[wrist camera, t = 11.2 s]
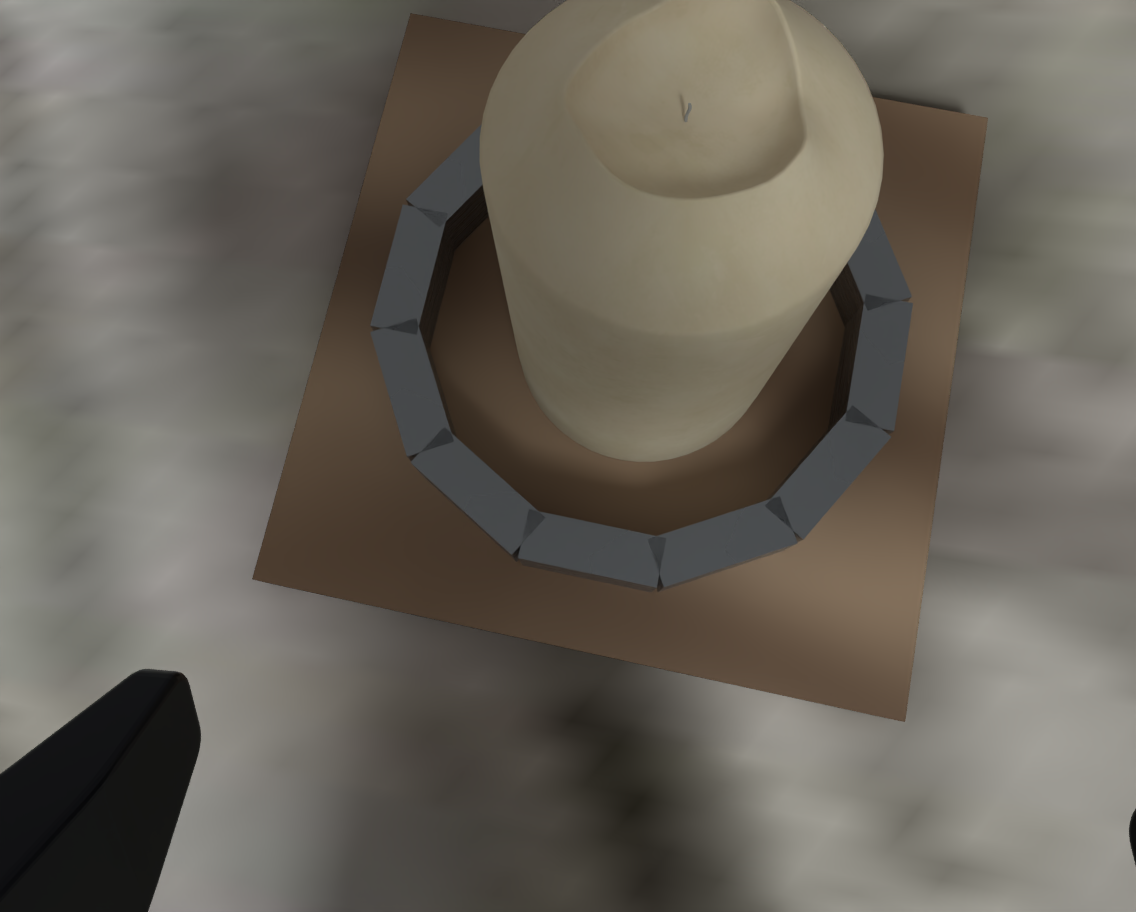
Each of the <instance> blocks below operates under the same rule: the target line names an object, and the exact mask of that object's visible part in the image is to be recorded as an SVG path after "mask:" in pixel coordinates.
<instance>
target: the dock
mask: <svg viewBox="0 0 1136 912" xmlns="http://www.w3.org/2000/svg"><path fill="white" fill-rule="evenodd" d="M525 35H526V34H522V33H517V32H511V31H506V30H500V29H495V28H489V27H483V26H478V25H472V24H467V23H461V22H456V21H450V20H445V19H439V18H434V17H428V16H423V15H417V14H412V13H411V14H410V18H409V21H408V25H407V28H406V32H405V35H404V39H403V43H402V46H401V50H400V53H399V57H398V60H397V64H396V68H395V71H394V75H393V78H392V82H391V85H390V89H389V93H388V96H387V100H386V103H385V107H384V110H383V114H382V117H381V121H380V125H379V128H378V132H377V135H376V139H375V142H374V146H373V150H372V153H371V157H370V160H369V164H368V167H367V171H366V175H365V178H364V182H363V185H362V189H361V192H360V196H359V200H358V203H357V207H356V210H355V214H354V217H353V221H352V225H351V228H350V232H349V235H348V239H347V242H346V246H345V250H344V253H343V257H342V260H341V264H340V267H339V271H338V275H337V278H336V282H335V285H334V289H333V292H332V296H331V300H330V303H329V307H328V310H327V314H326V317H325V321H324V325H323V328H322V332H321V335H320V339H319V342H318V346H317V350H316V353H315V357H314V360H313V364H312V367H311V371H310V375H309V378H308V382H307V385H306V389H305V392H304V396H303V400H302V403H301V407H300V410H299V414H298V417H297V421H296V425H295V428H294V432H293V435H292V439H291V442H290V446H289V450H288V453H287V457H286V460H285V464H284V467H283V471H282V475H281V478H280V482H279V485H278V489H277V492H276V496H275V500H274V503H273V507H272V510H271V514H270V517H269V521H268V525H267V528H266V532H265V535H264V539H263V542H262V546H261V550H260V553H259V557H258V560H257V564H256V567H255V571H254V575H253V578H252V579H253V580H258V581H262V582H266V583H271V584H275V585H280V586H285V587H289V588H294V589H298V590H303V591H308V592H312V593H317V594H321V595H326V596H330V597H335V598H340V599H344V600H349V601H353V602H358V603H362V604H367V605H372V606H376V607H381V608H385V609H390V610H394V611H399V612H404V613H408V614H413V615H417V616H422V617H427V618H431V619H436V620H440V621H445V622H449V623H454V624H459V625H463V626H468V627H472V628H477V629H481V630H486V631H491V632H495V633H500V634H504V635H509V636H513V637H518V638H523V639H527V640H532V641H536V642H541V643H545V644H550V645H555V646H559V647H564V648H568V649H573V650H578V651H582V652H587V653H591V654H596V655H600V656H605V657H610V658H614V659H619V660H623V661H628V662H632V663H637V664H642V665H646V666H651V667H655V668H660V669H664V670H669V671H674V672H678V673H683V674H687V675H692V676H697V677H701V678H706V679H710V680H715V681H719V682H724V683H729V684H733V685H738V686H742V687H747V688H751V689H756V690H761V691H765V692H770V693H774V694H779V695H783V696H788V697H793V698H797V699H802V700H806V701H811V702H815V703H820V704H825V705H829V706H834V707H838V708H843V709H848V710H852V711H857V712H861V713H866V714H870V715H875V716H880V717H884V718H889V719H894V720H898V721H903V722H905V718H906V711H907V704H908V696H909V689H910V682H911V675H912V667H913V660H914V653H915V645H916V638H917V631H918V624H919V616H920V609H921V602H922V595H923V587H924V580H925V573H926V565H927V558H928V551H929V544H930V536H931V529H932V522H933V514H934V507H935V500H936V493H937V485H938V478H939V471H940V463H941V456H942V449H943V442H944V434H945V427H946V420H947V413H948V405H949V398H950V391H951V383H952V376H953V369H954V362H955V354H956V347H957V340H958V332H959V325H960V318H961V311H962V303H963V296H964V289H965V282H966V274H967V267H968V260H969V252H970V245H971V238H972V231H973V223H974V216H975V209H976V201H977V194H978V187H979V180H980V172H981V165H982V158H983V150H984V143H985V136H986V129H987V121H988V118H986V117H981V116H975V115H970V114H964V113H958V112H953V111H947V110H942V109H936V108H931V107H925V106H920V105H914V104H909V103H903V102H898V101H892V100H887V99H881V98H876V97H873V100H874V102H875V105H876V108H877V113H878V117H879V121H880V125H881V130H882V141H883V152H884V157H883V176H882V182H881V187H880V192H879V197H878V202H877V205H876V208H875V210H874V213H873V216H872V219H871V221H870V224H869V226H868V228H867V230H866V232H865V234H864V236H863V238H862V240H861V241H860V243H859V245H858V247H857V249H856V250H855V252H854V253H853V255H852V256H851V258H850V259H849V261H848V262H847V264H846V265H845V267H844V268H843V270H842V271H841V273H840V274H839V276H838V277H837V279H836V280H835V282H834V283H833V285H832V286H831V288H830V289H829V290H828V292H827V293H826V295H825V296H824V298H823V299H822V301H821V302H820V304H819V305H818V307H817V308H816V310H815V311H814V313H813V314H812V316H811V317H810V319H809V320H808V322H807V323H806V325H805V326H804V328H803V329H802V331H801V332H800V333H799V335H798V336H797V338H796V339H795V341H794V342H793V344H792V345H791V347H790V348H789V350H788V351H787V353H786V354H785V356H784V357H783V359H782V360H781V362H780V363H779V365H778V366H777V368H776V369H775V371H774V372H773V374H772V375H771V377H770V378H769V379H768V381H767V382H766V384H765V385H764V387H763V388H762V390H761V391H760V393H759V394H758V396H757V397H756V399H755V400H754V401H753V403H752V404H751V405H750V407H749V408H748V409H747V411H746V412H745V413H744V415H743V416H742V417H741V418H740V419H739V420H738V421H737V422H736V423H735V425H734V426H733V427H732V428H731V429H730V430H728V431H727V432H726V433H725V434H723V435H722V436H721V437H720V438H718V439H717V440H715V441H714V442H712V443H710V444H709V445H707V446H705V447H704V448H701V449H699V450H697V451H694V452H692V453H690V454H687V455H684V456H680V457H677V458H673V459H669V460H663V461H656V462H633V461H624V460H619V459H615V458H611V457H607V456H604V455H601V454H599V453H596V452H593V451H591V450H589V449H587V448H585V447H584V446H582V445H580V444H578V443H576V442H575V441H574V440H572V439H571V438H569V437H568V436H567V435H565V434H564V433H563V432H562V431H561V430H560V429H558V428H557V427H556V426H555V425H554V424H553V423H552V422H551V421H550V420H549V418H548V417H547V416H546V415H545V414H544V412H543V411H542V410H541V409H540V407H539V405H538V404H537V402H536V400H535V399H534V397H533V396H532V394H531V391H530V389H529V387H528V385H527V382H526V380H525V376H524V373H523V369H522V366H521V362H520V359H519V355H518V351H517V346H516V341H515V337H514V332H513V327H512V322H511V318H510V313H509V308H508V303H507V299H506V294H505V289H504V285H503V280H502V275H501V270H500V266H499V261H498V256H497V251H496V247H495V242H494V237H493V233H492V228H491V223H490V218H489V214H488V209H487V204H486V199H485V194H484V189H483V183H482V176H481V169H480V132H481V126H482V119H483V113H484V110H485V107H486V103H487V100H488V97H489V93H490V90H491V88H492V86H493V84H494V82H495V79H496V77H497V75H498V73H499V71H500V69H501V67H502V66H503V64H504V63H505V61H506V60H507V58H508V56H509V55H510V53H511V52H512V50H513V49H514V48H515V46H516V45H517V44H518V43H519V42H520V40H521V39H522V38H523V37H524V36H525Z"/></svg>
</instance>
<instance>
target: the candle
mask: <svg viewBox="0 0 1136 912" xmlns="http://www.w3.org/2000/svg"><path fill="white" fill-rule="evenodd" d="M883 157H884V152H883V141H882V130H881V125H880V121H879V117H878V113H877V108H876V105H875V102H874V100H873V97H872V95H871V92H870V90H869V87H868V84H867V82H866V81H865V79H864V77H863V75H862V73H861V72H860V70H859V68H858V66H857V64H856V63H855V61H854V60H853V58H852V57H851V56H850V54H849V53H848V52H847V50H846V49H845V48H844V46H843V45H842V44H841V42H840V41H839V40H838V39H837V38H836V37H835V36H834V35H833V34H832V33H831V32H830V31H829V30H828V29H827V28H826V27H825V26H824V25H823V24H822V23H821V22H819V21H818V20H817V19H816V18H814V17H813V16H812V15H811V14H809V13H808V12H807V11H806V10H804V9H803V8H801V7H800V6H798V5H797V4H795V3H793V2H792V1H790V0H567V1H565V2H564V3H562V4H561V5H559V6H558V7H557V8H555V9H554V10H552V11H551V12H550V13H548V14H547V15H546V16H544V17H543V18H542V19H541V20H540V21H539V22H538V23H537V24H536V25H535V26H533V27H532V28H531V29H530V30H529V31H528V32H527V33H526V35H525V36H524V37H523V38H522V39H521V40H520V42H519V43H518V44H517V45H516V46H515V48H514V49H513V50H512V52H511V53H510V55H509V56H508V58H507V60H506V61H505V63H504V64H503V66H502V67H501V69H500V71H499V73H498V75H497V77H496V79H495V82H494V84H493V86H492V88H491V90H490V93H489V97H488V100H487V103H486V107H485V110H484V113H483V119H482V126H481V132H480V169H481V176H482V183H483V189H484V194H485V199H486V204H487V209H488V214H489V218H490V223H491V228H492V233H493V237H494V242H495V247H496V251H497V256H498V261H499V266H500V270H501V275H502V280H503V285H504V289H505V294H506V299H507V303H508V308H509V313H510V318H511V322H512V327H513V332H514V337H515V341H516V346H517V351H518V355H519V359H520V362H521V366H522V369H523V373H524V376H525V380H526V382H527V385H528V387H529V389H530V391H531V394H532V396H533V397H534V399H535V400H536V402H537V404H538V405H539V407H540V409H541V410H542V411H543V412H544V414H545V415H546V416H547V417H548V418H549V420H550V421H551V422H552V423H553V424H554V425H555V426H556V427H557V428H558V429H560V430H561V431H562V432H563V433H564V434H565V435H567V436H568V437H569V438H571V439H572V440H574V441H575V442H576V443H578V444H580V445H582V446H584V447H585V448H587V449H589V450H591V451H593V452H596V453H599V454H601V455H604V456H607V457H611V458H615V459H619V460H624V461H633V462H656V461H663V460H669V459H673V458H677V457H680V456H684V455H687V454H690V453H692V452H694V451H697V450H699V449H701V448H704V447H705V446H707V445H709V444H710V443H712V442H714V441H715V440H717V439H718V438H720V437H721V436H722V435H723V434H725V433H726V432H727V431H728V430H730V429H731V428H732V427H733V426H734V425H735V423H736V422H737V421H738V420H739V419H740V418H741V417H742V416H743V415H744V413H745V412H746V411H747V409H748V408H749V407H750V405H751V404H752V403H753V401H754V400H755V399H756V397H757V396H758V394H759V393H760V391H761V390H762V388H763V387H764V385H765V384H766V382H767V381H768V379H769V378H770V377H771V375H772V374H773V372H774V371H775V369H776V368H777V366H778V365H779V363H780V362H781V360H782V359H783V357H784V356H785V354H786V353H787V351H788V350H789V348H790V347H791V345H792V344H793V342H794V341H795V339H796V338H797V336H798V335H799V333H800V332H801V331H802V329H803V328H804V326H805V325H806V323H807V322H808V320H809V319H810V317H811V316H812V314H813V313H814V311H815V310H816V308H817V307H818V305H819V304H820V302H821V301H822V299H823V298H824V296H825V295H826V293H827V292H828V290H829V289H830V288H831V286H832V285H833V283H834V282H835V280H836V279H837V277H838V276H839V274H840V273H841V271H842V270H843V268H844V267H845V265H846V264H847V262H848V261H849V259H850V258H851V256H852V255H853V253H854V252H855V250H856V249H857V247H858V245H859V243H860V241H861V240H862V238H863V236H864V234H865V232H866V230H867V228H868V226H869V224H870V221H871V219H872V216H873V213H874V210H875V208H876V205H877V202H878V197H879V192H880V187H881V182H882V176H883Z"/></svg>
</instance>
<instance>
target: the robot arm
mask: <svg viewBox="0 0 1136 912" xmlns="http://www.w3.org/2000/svg"><path fill="white" fill-rule="evenodd" d="M200 742H201V730H200V725H199V721H198V717H197V713H196V709H195V705H194V701H193V697H192V693H191V689H190V685H189V682H188V679H187V678H186V677H185V675H183V674H182V673H180V672H177V671H166V670H155V669H142V670H139V671H137V672H135V673H133V674H131V675H130V676H128V677H127V678H126V679H124V680H123V681H122V682H121V683H119V684H118V685H117V686H115V687H114V688H113V689H111V690H110V691H109V692H107V693H106V694H105V695H103V696H102V697H101V698H100V699H98V700H97V701H96V702H94V703H93V704H92V705H90V706H89V707H88V708H86V709H85V710H84V711H82V712H81V713H80V714H78V715H77V716H76V717H75V718H73V719H72V720H71V721H69V722H68V723H67V724H65V725H64V726H63V727H61V728H60V729H59V730H57V731H56V732H55V733H53V734H52V735H51V736H50V737H48V738H47V739H46V740H44V741H43V742H42V743H40V744H39V745H38V746H36V747H35V748H34V749H32V750H31V751H30V752H28V753H27V754H26V755H25V756H23V757H22V758H21V759H19V760H18V761H17V762H15V763H14V764H13V765H11V766H10V767H9V768H7V769H6V770H5V771H3V772H2V773H1V774H0V912H148V910H149V907H150V904H151V901H152V899H153V896H154V893H155V890H156V887H157V884H158V881H159V877H160V874H161V871H162V868H163V865H164V862H165V858H166V855H167V852H168V849H169V846H170V843H171V839H172V836H173V833H174V830H175V827H176V824H177V821H178V817H179V814H180V811H181V808H182V805H183V802H184V798H185V795H186V792H187V789H188V786H189V783H190V779H191V776H192V773H193V770H194V767H195V764H196V760H197V757H198V754H199V749H200ZM1129 837H1130V844H1131V849H1132V853H1133V857H1134V861H1135V865H1136V809H1135V811H1134V812H1133V815H1132V817H1131V821H1130V826H1129Z"/></svg>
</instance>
